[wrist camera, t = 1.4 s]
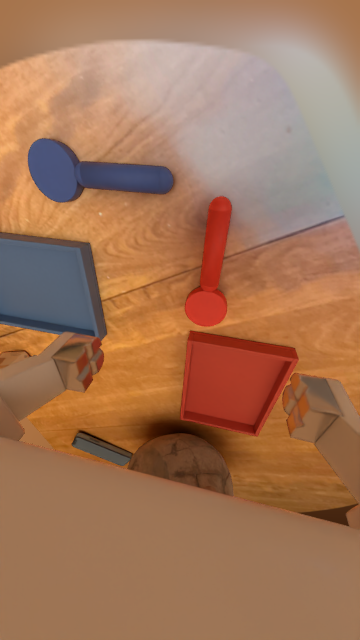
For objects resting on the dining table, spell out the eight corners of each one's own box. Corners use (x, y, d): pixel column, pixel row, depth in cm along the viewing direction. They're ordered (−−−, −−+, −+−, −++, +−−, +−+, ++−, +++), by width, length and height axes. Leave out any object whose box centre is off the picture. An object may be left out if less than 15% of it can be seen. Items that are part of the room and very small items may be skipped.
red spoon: (195, 193, 19) (192, 195, 17) (250, 197, 18) (251, 199, 17) (185, 317, 27) (182, 327, 25) (223, 323, 26) (222, 333, 25)
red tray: (294, 348, 26) (299, 359, 25) (256, 425, 37) (257, 436, 35) (190, 330, 28) (187, 340, 26) (182, 409, 38) (179, 419, 37)
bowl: (138, 451, 52) (110, 534, 40) (134, 399, 40) (91, 497, 28) (227, 474, 50) (225, 571, 38) (253, 427, 37) (263, 549, 25)
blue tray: (90, 242, 24) (79, 247, 22) (107, 333, 31) (100, 342, 30) (-46, 226, 26) (-64, 230, 25) (1, 314, 34) (-11, 321, 32)
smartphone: (123, 467, 57) (70, 446, 55) (125, 460, 59) (74, 439, 56) (132, 459, 53) (75, 436, 51) (134, 452, 54) (79, 429, 52)
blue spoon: (176, 146, 17) (171, 143, 16) (174, 211, 20) (169, 214, 19) (30, 138, 19) (11, 135, 18) (46, 199, 22) (31, 201, 20)
